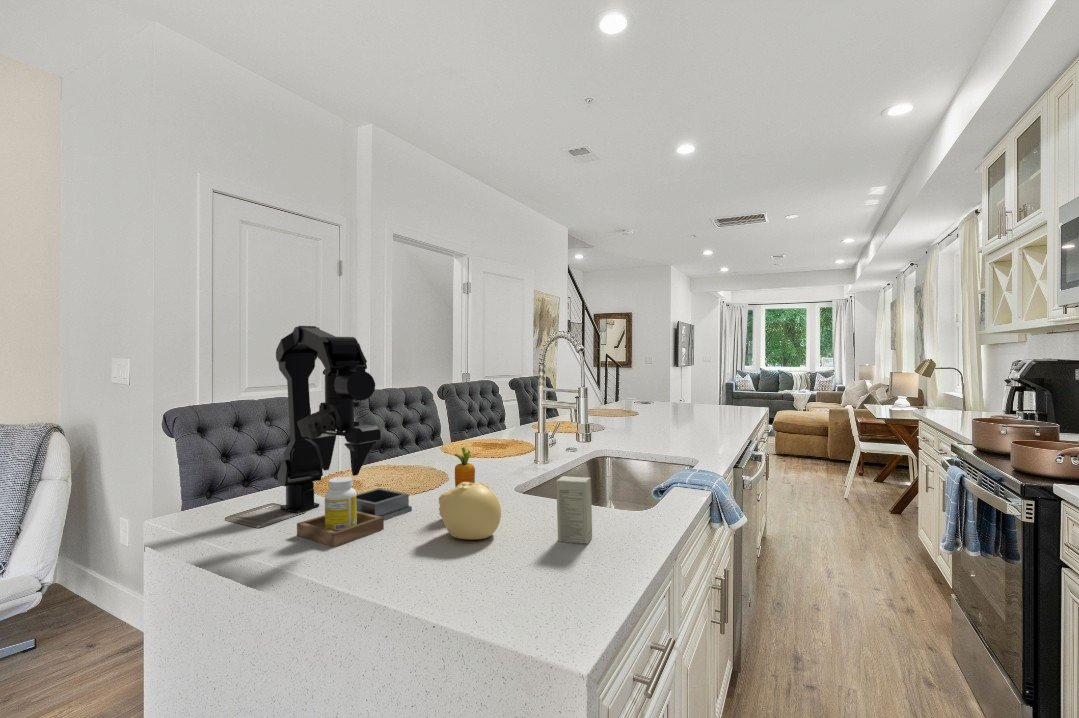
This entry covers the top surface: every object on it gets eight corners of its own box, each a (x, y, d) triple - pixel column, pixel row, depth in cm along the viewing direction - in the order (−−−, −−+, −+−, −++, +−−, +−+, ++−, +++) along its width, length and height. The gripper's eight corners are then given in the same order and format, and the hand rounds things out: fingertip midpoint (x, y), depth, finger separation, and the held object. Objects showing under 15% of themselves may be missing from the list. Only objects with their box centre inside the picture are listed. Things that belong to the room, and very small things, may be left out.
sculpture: (475, 522, 117) (475, 473, 117) (512, 535, 109) (511, 483, 108) (431, 534, 109) (430, 482, 109) (466, 550, 101) (466, 493, 100)
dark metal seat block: (341, 515, 122) (341, 497, 122) (379, 503, 131) (379, 487, 131) (374, 523, 116) (374, 505, 116) (411, 510, 126) (411, 493, 125)
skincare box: (592, 537, 107) (592, 477, 107) (587, 545, 103) (587, 482, 103) (562, 534, 110) (562, 474, 109) (555, 541, 105) (555, 479, 105)
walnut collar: (297, 535, 109) (296, 523, 109) (346, 519, 119) (346, 508, 119) (334, 547, 102) (334, 534, 102) (383, 529, 113) (383, 517, 112)
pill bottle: (345, 525, 115) (345, 474, 115) (363, 531, 111) (362, 478, 111) (318, 533, 110) (318, 480, 110) (336, 539, 106) (336, 484, 106)
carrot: (471, 516, 121) (471, 450, 121) (450, 515, 122) (450, 449, 122) (478, 510, 126) (478, 446, 126) (458, 508, 127) (458, 445, 127)
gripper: (276, 398, 108) (277, 474, 109) (335, 402, 98) (336, 487, 99) (324, 394, 118) (324, 464, 118) (382, 398, 108) (383, 475, 108)
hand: (340, 472), depth 110 cm, fingers open, 9 cm apart
